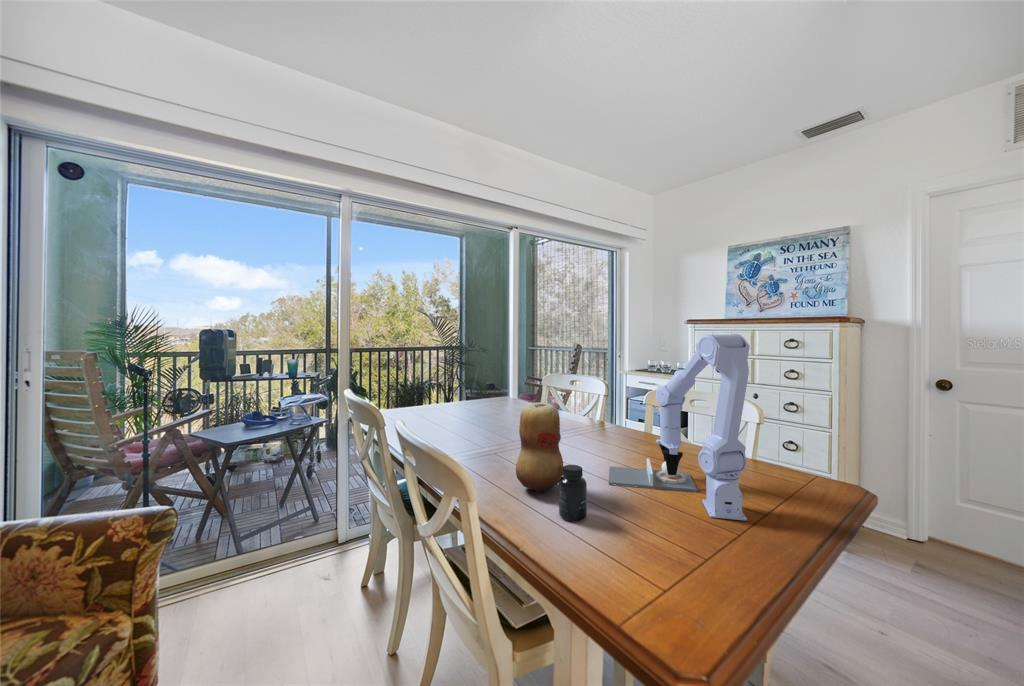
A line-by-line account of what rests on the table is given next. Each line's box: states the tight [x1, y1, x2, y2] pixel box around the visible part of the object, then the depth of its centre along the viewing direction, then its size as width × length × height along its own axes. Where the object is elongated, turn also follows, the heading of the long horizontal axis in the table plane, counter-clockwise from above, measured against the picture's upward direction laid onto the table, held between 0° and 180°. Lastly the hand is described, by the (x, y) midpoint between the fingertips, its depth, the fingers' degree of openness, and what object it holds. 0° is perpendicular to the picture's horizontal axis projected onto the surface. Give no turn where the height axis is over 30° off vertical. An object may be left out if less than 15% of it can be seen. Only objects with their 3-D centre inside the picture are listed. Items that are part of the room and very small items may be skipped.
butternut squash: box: [515, 401, 564, 492], centre depth 111 cm, size 14×13×25 cm
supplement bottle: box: [558, 464, 588, 523], centre depth 94 cm, size 7×7×12 cm
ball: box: [661, 461, 680, 477], centre depth 115 cm, size 5×5×5 cm
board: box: [608, 458, 698, 493], centre depth 117 cm, size 14×24×4 cm, turn 74°
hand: (670, 471), depth 115 cm, fingers open, 5 cm apart
